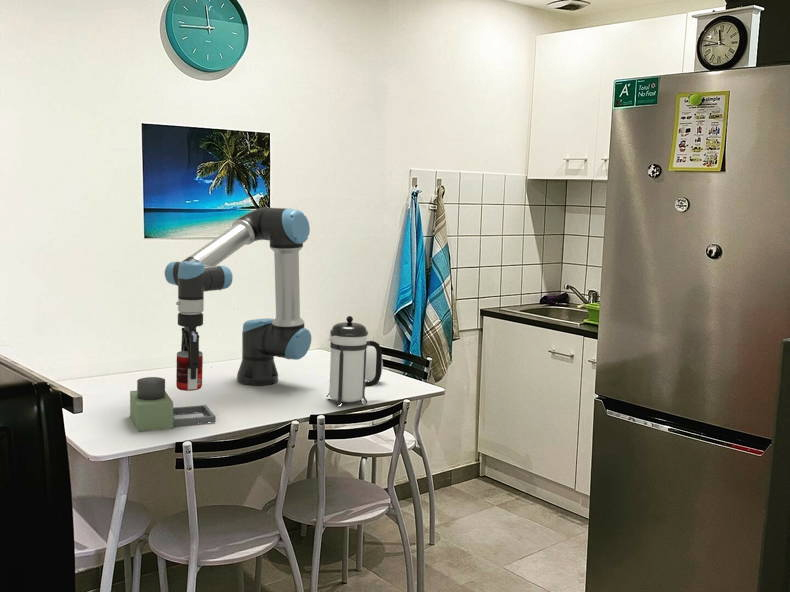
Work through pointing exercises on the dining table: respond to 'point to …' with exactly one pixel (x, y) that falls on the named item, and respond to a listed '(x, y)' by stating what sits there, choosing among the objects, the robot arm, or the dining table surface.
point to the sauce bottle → (371, 363)
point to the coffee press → (350, 362)
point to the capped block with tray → (160, 407)
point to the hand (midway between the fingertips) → (189, 385)
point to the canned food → (183, 371)
